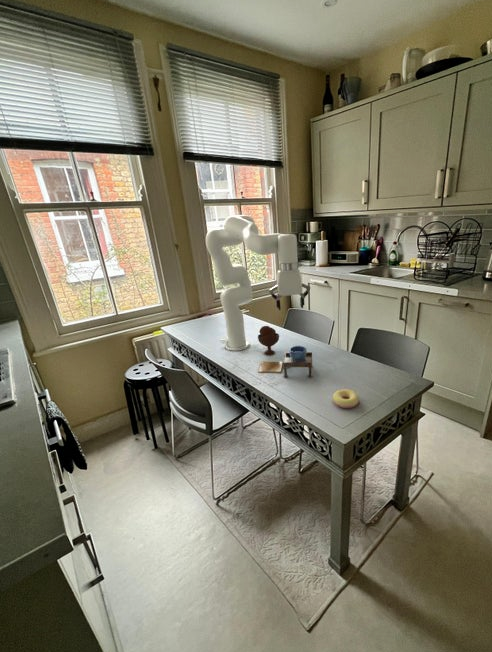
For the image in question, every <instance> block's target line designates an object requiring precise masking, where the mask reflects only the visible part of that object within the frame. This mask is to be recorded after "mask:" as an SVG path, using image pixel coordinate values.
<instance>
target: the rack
mask: <svg viewBox="0 0 492 652" xmlns="http://www.w3.org/2000/svg"><path fill="white" fill-rule="evenodd" d="M282 362H283V365H282V366H283V375H284V378H288V368H308V378H309V379H310V378H312V376H313V375H312V372H313V371H312V369H313V351H306V356H305V361H304V362H292V361H291V356H290V353H289V351H285V357H284V361H282Z"/></svg>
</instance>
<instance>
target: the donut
mask: <svg viewBox="0 0 492 652" xmlns="http://www.w3.org/2000/svg"><path fill="white" fill-rule="evenodd" d="M332 400H333V403H334V404H335V405H336V406H337V407H338V408H339V407H340V408H342V409H351V408H354V407H355V406H357V405H358V403H359V401H360V397H359V395H358V394H357V392H355V391H353V390H352V389H347V388H343V389H342V388H341V389H338V390H337V391H335V392H334V394H333V396H332Z"/></svg>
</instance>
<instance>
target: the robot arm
mask: <svg viewBox="0 0 492 652" xmlns="http://www.w3.org/2000/svg"><path fill="white" fill-rule="evenodd" d="M259 232H260V231H259V227H258V225H257V224H256V222H255V220H254V218H253V217H252V216H251V215H248V214H238V215H237V214H236V215H230V216H227V217H226V218H225V220H224V222H223V227H220V228H219V227H218V228H213V229H211V230H209V231H208V232H207V233H206V235H205V245H206V249H207V252H208V253H209V256H210V257H211V261H212V263H213V267H214V271H215V273H216V277H217V280H218V283H219V284H220V286H222V287H229V286H234V285H237V286H234V287H230V288H226V289H224V290H222V292H221V293H220V295H219V296H220V297H219V300H220V303H221V306H222V309H223V314H224V321H225V331H226V336H227V338H220V343H221V344H223V345H225V349H226V350H228V351H234V352H235V351H236V352H237V351H242V350H245V349H248V347H250V343H249V341H248V340H246V339H247V338H246V330H245V321H244V313H243V312H242V310H241V309H240V307H239V306H243V305H246V304H249V303H251V302H252V301H253V299H254V298H253V297H254V294H253V293H254V291H253V289H252V284H251V281H250V277H249V273H248V270H247V269H246V267H245V266H244V265H243V264H232V262H231V257H230V255H229V253H228V252H227V251H226V250H225V249H224V248H226V247H234V246H239V245H241V244H242V243H243V242H244V243H243V244H244V245H245V246H246V248H247V249H248V250H249V251H251V252H253V253H255V254H256V255H259V256H267V255H271V254H278V268H279V269H278V270H277V272H276V285H274V286H273V287H271V288H270V289H268V293H269V294H270V295H271V297H272V298H273V299H274V300H275V303H276V308H278V311H281V297H284V296H285V297H286V296H287V297H288V296H297V295H299V296H300V297H299V302H300V303H299V306H300V309H303V308H304V306H305V298H306V297H307V296H308V295H309V292H310V290H311V286H310V285H307V284H306V283H303V281H302V276H301V269H299V268H300V267H302V262H299V260H298V259H299V258H298V239H297V238H298V237H297V235H296V234H294V233H285V234H284V233H281V232H279V233H277V232H276V233H268V234H260V233H259ZM303 288H304V289H305V291H304V292H303ZM275 291H277V294H275V293H274V292H275Z"/></svg>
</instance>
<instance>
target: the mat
mask: <svg viewBox="0 0 492 652" xmlns="http://www.w3.org/2000/svg"><path fill="white" fill-rule="evenodd" d="M283 362H284V361H262V362H261V364H260V367H259V369H258V373H278V374H279V373H281V372H282V368H283V366H284V365H283Z"/></svg>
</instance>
